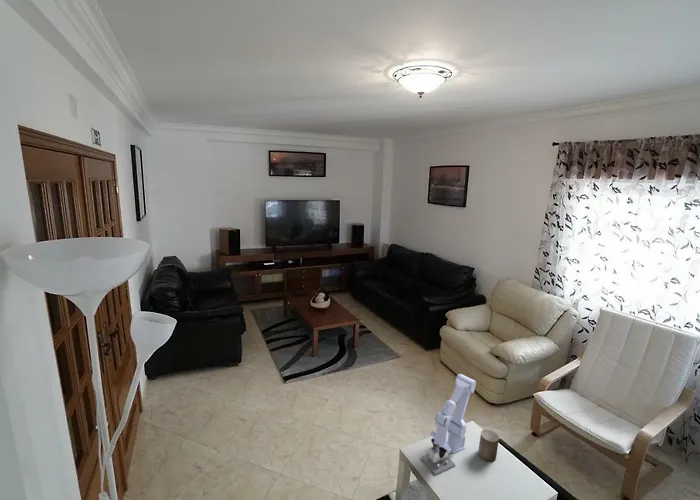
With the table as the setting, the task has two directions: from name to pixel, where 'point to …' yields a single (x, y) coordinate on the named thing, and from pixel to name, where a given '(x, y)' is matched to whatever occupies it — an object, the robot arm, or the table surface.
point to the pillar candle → (488, 445)
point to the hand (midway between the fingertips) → (438, 454)
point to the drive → (436, 454)
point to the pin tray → (438, 464)
